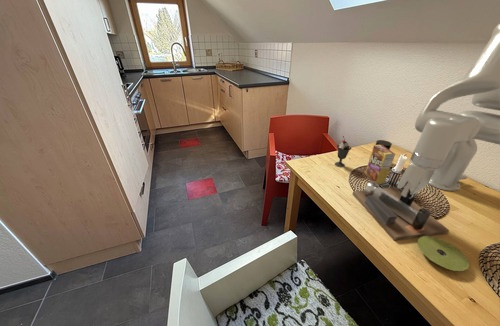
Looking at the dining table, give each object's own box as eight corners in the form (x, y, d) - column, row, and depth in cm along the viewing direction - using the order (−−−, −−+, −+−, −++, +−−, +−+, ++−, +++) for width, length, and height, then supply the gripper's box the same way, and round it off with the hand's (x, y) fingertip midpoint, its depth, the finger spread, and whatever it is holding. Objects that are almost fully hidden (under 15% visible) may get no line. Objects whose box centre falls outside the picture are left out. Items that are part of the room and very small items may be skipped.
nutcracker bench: (394, 190, 85) (398, 180, 82) (447, 233, 65) (455, 222, 63) (352, 194, 83) (355, 184, 80) (393, 240, 63) (399, 229, 61)
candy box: (363, 173, 96) (373, 144, 88) (372, 173, 96) (383, 144, 88) (374, 184, 88) (385, 153, 81) (384, 184, 88) (396, 153, 81)
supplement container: (385, 159, 108) (391, 141, 102) (384, 165, 103) (391, 146, 97) (370, 156, 111) (376, 139, 105) (369, 161, 106) (376, 143, 100)
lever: (361, 191, 81) (366, 178, 77) (369, 189, 82) (373, 176, 79) (417, 231, 63) (425, 216, 60) (425, 227, 65) (434, 213, 62)
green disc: (417, 233, 65) (419, 229, 64) (464, 254, 59) (468, 250, 58) (412, 257, 58) (415, 253, 57) (465, 283, 52) (470, 279, 51)
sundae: (334, 160, 107) (340, 134, 100) (348, 163, 104) (355, 137, 96) (330, 165, 103) (337, 138, 95) (344, 169, 99) (352, 141, 92)
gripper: (424, 148, 67) (403, 192, 77) (400, 160, 61) (380, 206, 70) (452, 158, 62) (426, 203, 71) (429, 172, 55) (404, 219, 65)
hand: (404, 204), depth 71 cm, fingers closed
